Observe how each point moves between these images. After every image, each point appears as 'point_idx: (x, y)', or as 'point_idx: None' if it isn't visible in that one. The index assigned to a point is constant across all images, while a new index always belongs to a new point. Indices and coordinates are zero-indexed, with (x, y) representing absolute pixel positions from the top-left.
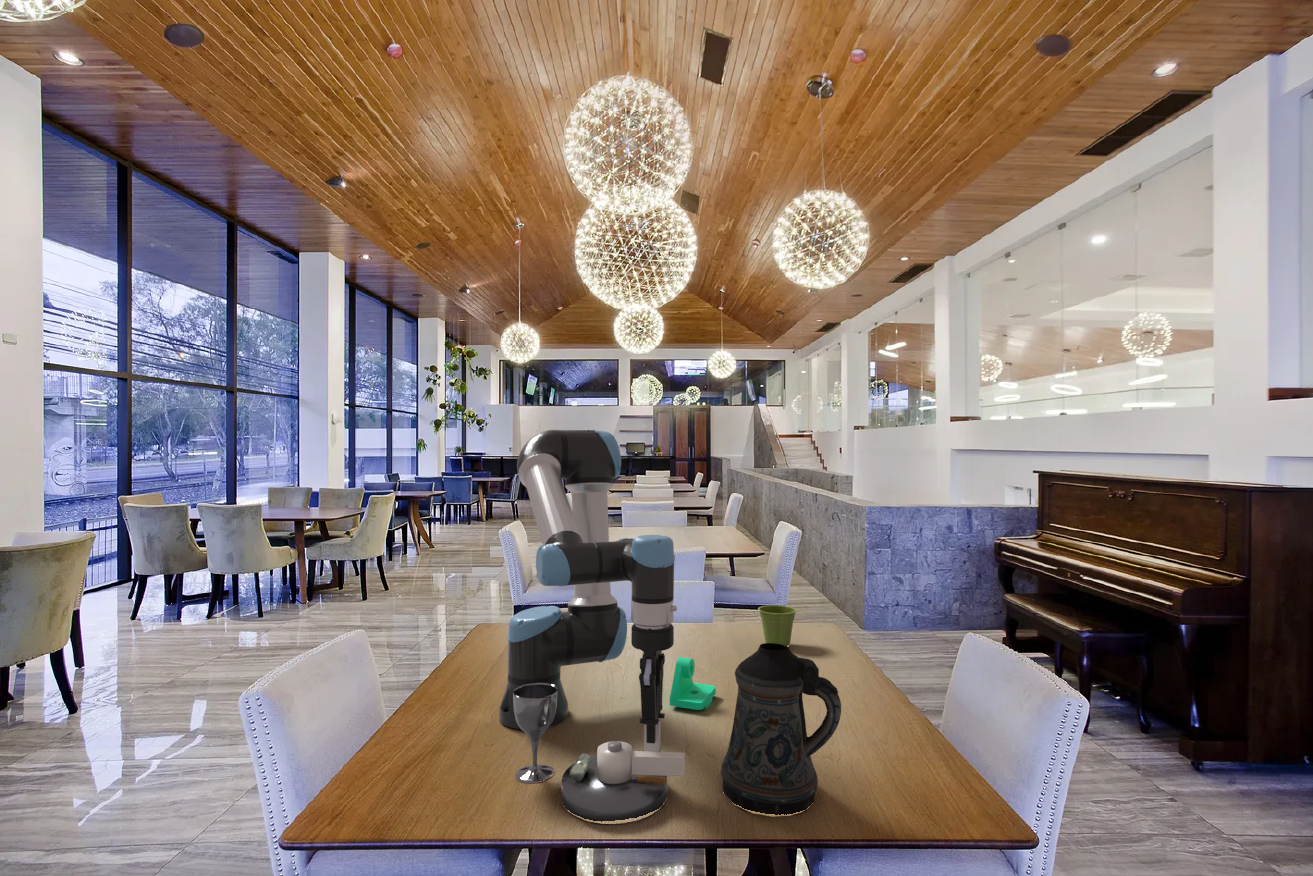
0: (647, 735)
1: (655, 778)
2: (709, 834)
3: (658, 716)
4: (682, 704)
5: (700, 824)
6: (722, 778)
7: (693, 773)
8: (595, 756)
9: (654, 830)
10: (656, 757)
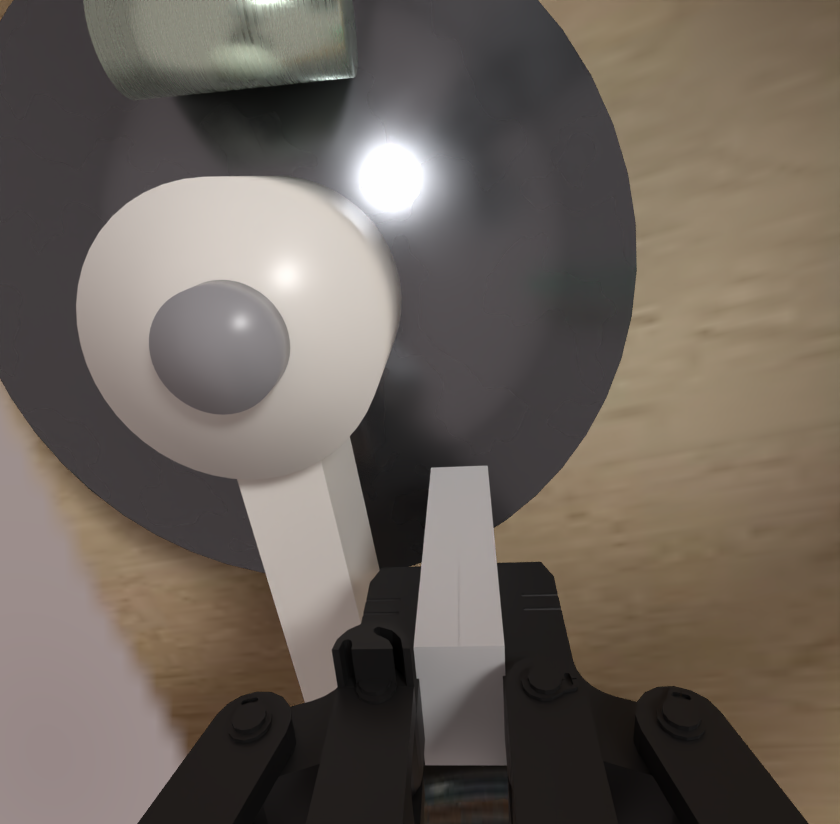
0: (364, 617)
1: None
2: (163, 694)
3: (508, 782)
4: None
5: (212, 663)
6: (444, 776)
7: (613, 599)
8: (547, 50)
9: (104, 521)
10: (282, 619)
